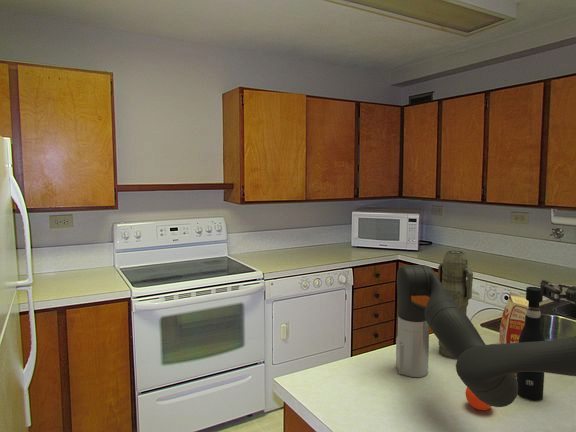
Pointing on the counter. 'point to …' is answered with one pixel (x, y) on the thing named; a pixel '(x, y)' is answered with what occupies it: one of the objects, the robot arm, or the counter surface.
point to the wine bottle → (532, 332)
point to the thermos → (455, 284)
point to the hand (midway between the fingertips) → (561, 284)
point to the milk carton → (513, 318)
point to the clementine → (475, 401)
